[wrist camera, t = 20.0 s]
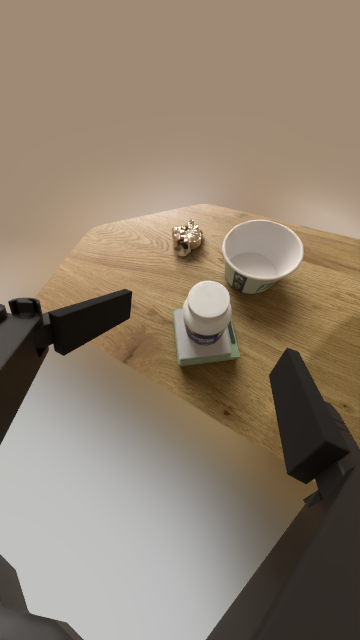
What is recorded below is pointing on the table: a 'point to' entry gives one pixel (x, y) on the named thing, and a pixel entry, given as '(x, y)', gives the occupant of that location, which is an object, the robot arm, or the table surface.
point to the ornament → (186, 238)
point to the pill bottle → (207, 313)
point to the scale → (200, 354)
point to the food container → (260, 255)
